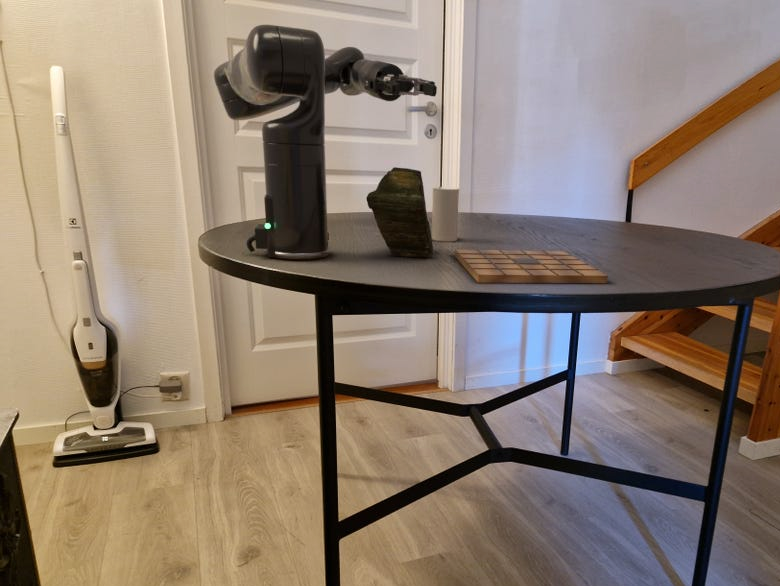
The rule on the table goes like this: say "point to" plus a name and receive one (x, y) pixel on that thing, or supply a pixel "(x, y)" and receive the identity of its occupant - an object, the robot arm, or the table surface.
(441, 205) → the white tin can
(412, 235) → the rock
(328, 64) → the robot arm
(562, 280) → the board
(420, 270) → the table surface
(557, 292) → the table surface
